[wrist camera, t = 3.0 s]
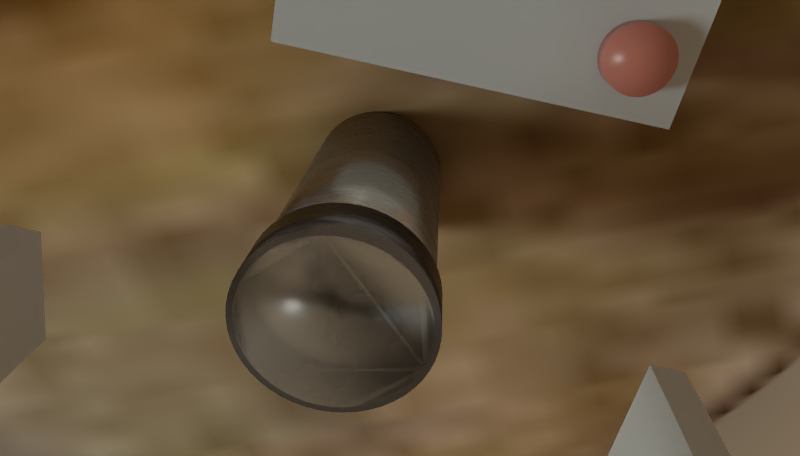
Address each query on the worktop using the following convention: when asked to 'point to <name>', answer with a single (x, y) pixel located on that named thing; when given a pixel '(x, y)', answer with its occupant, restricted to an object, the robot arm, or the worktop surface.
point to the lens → (347, 273)
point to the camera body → (521, 46)
